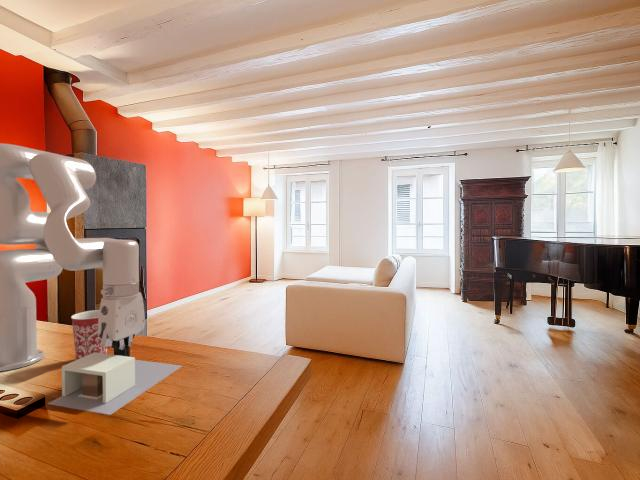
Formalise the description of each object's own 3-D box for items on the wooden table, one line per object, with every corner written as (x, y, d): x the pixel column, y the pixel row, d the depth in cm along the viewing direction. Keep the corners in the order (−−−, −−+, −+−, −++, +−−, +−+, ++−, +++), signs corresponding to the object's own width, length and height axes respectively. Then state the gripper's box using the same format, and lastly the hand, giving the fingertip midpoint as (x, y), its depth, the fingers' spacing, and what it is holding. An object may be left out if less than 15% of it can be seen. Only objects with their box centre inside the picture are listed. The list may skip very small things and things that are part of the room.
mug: (77, 370, 85) (76, 320, 84) (67, 360, 91) (67, 314, 90) (128, 355, 95) (128, 311, 94) (117, 348, 100) (117, 306, 100)
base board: (47, 409, 67) (47, 394, 67) (132, 363, 90) (132, 352, 90) (110, 420, 64) (110, 405, 64) (182, 370, 86) (182, 358, 86)
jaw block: (97, 397, 70) (97, 375, 70) (82, 394, 71) (82, 372, 71) (112, 388, 74) (112, 367, 74) (98, 386, 75) (98, 365, 74)
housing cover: (62, 396, 70) (61, 366, 70) (94, 379, 78) (94, 352, 78) (105, 403, 68) (105, 372, 67) (135, 385, 76) (134, 357, 75)
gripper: (108, 297, 70) (109, 379, 71) (156, 285, 84) (156, 352, 85) (80, 295, 71) (81, 375, 72) (132, 283, 86) (132, 350, 87)
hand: (121, 362), depth 79 cm, fingers closed
